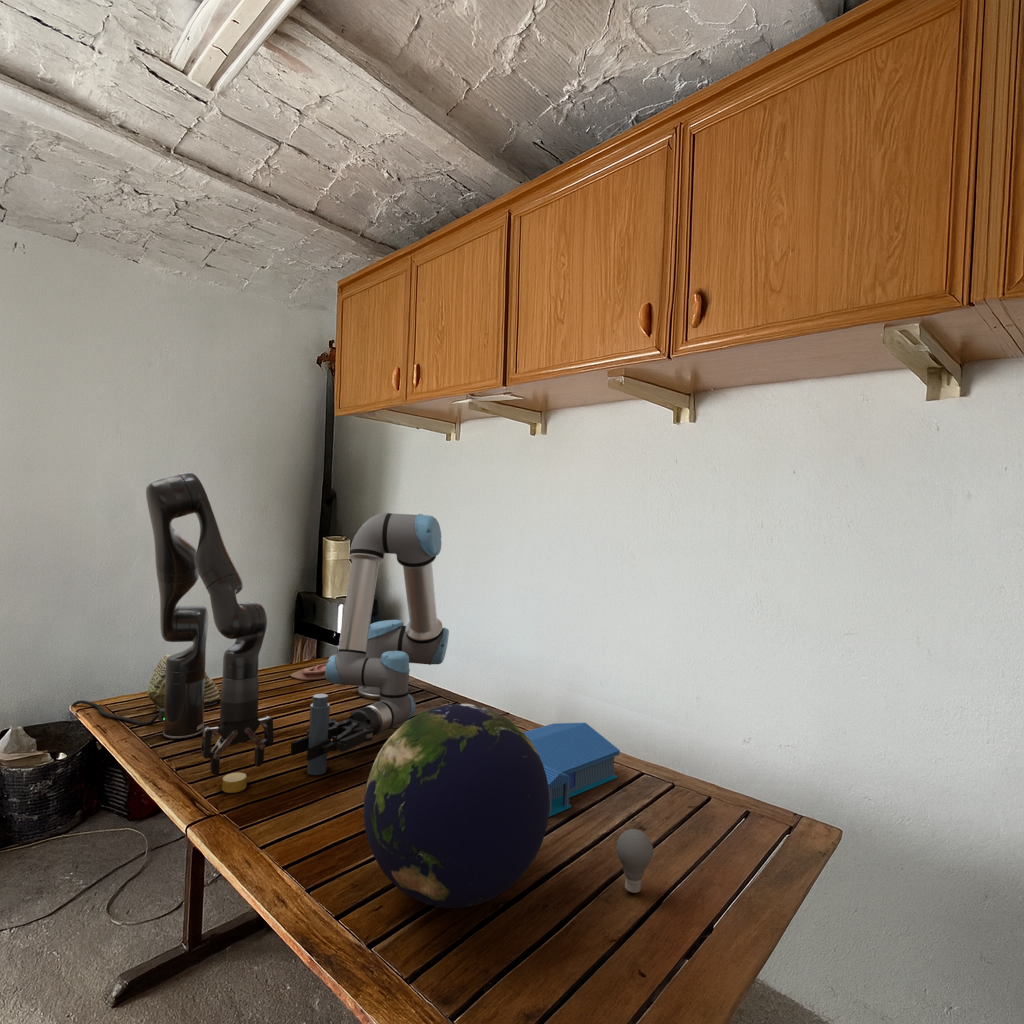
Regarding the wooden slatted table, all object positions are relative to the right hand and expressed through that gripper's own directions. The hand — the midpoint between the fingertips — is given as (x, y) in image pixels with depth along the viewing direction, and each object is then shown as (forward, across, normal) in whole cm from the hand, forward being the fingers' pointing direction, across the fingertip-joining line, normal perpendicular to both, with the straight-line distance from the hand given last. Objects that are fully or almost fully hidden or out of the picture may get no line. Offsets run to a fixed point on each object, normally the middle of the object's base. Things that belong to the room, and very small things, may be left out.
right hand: (300, 751), depth 141 cm
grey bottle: (-5, 0, -6) cm, 8 cm away
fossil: (-16, +64, -6) cm, 66 cm away
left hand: (+9, +9, -3) cm, 13 cm away
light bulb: (0, -76, -6) cm, 77 cm away
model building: (-25, -45, -6) cm, 52 cm away
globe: (+16, -51, -6) cm, 54 cm away
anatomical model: (-60, +57, -6) cm, 83 cm away
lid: (+10, +9, -4) cm, 14 cm away
